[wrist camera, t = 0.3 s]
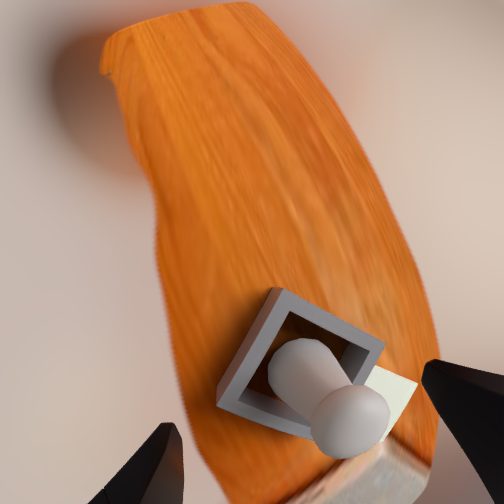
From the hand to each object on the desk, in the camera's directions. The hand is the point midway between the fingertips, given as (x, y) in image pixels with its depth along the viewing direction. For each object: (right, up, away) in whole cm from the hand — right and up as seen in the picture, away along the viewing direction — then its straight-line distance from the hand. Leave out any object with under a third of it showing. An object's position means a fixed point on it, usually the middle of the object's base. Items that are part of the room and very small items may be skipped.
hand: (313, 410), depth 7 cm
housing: (+2, -5, +15) cm, 16 cm away
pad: (+11, -11, +16) cm, 22 cm away
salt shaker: (+2, -5, +16) cm, 17 cm away
